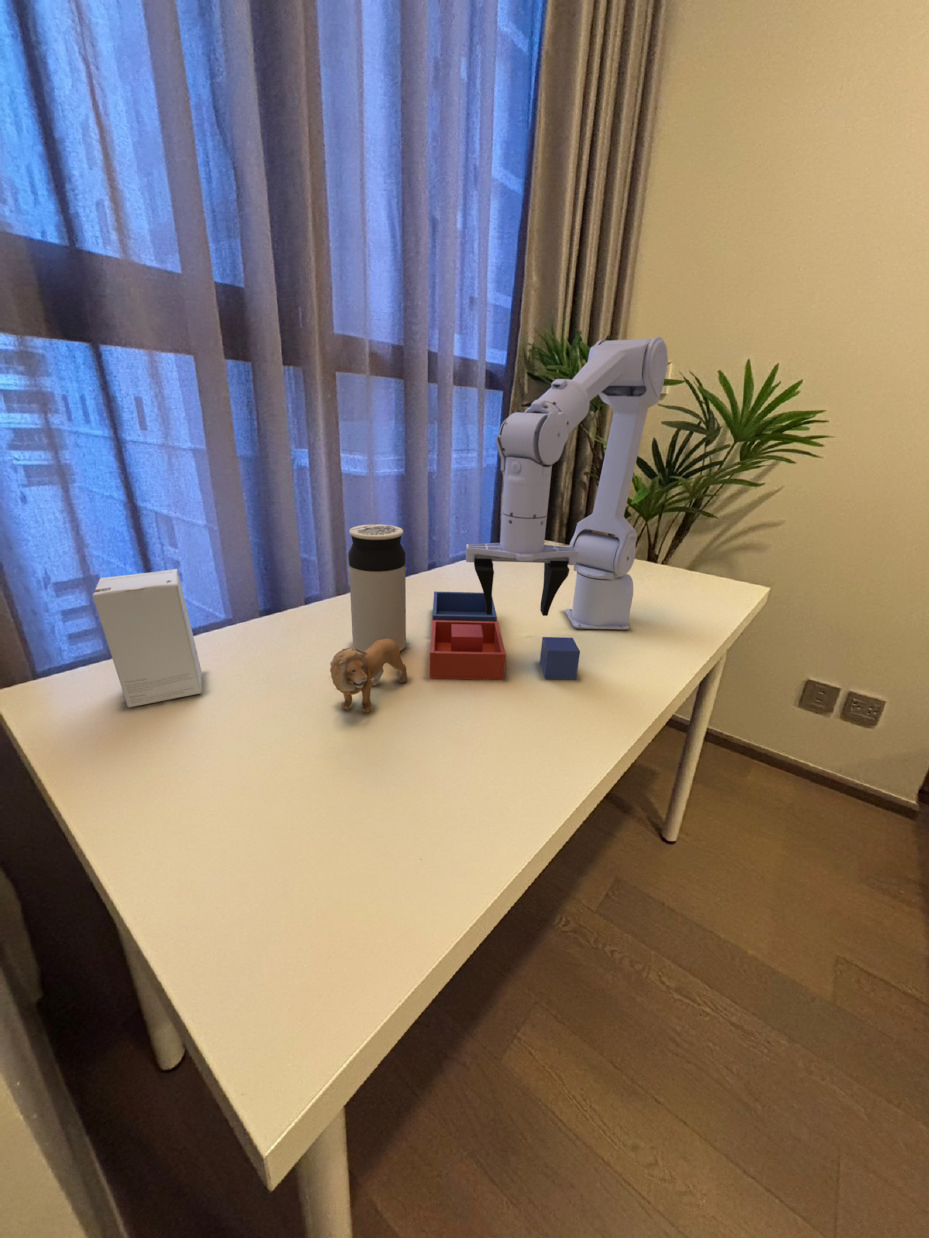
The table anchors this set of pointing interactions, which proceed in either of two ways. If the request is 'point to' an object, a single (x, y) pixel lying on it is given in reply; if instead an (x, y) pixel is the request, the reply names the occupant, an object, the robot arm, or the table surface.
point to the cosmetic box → (149, 636)
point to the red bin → (467, 653)
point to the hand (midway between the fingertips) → (516, 612)
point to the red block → (466, 638)
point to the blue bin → (461, 607)
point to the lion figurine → (364, 670)
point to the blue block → (559, 658)
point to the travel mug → (377, 585)
